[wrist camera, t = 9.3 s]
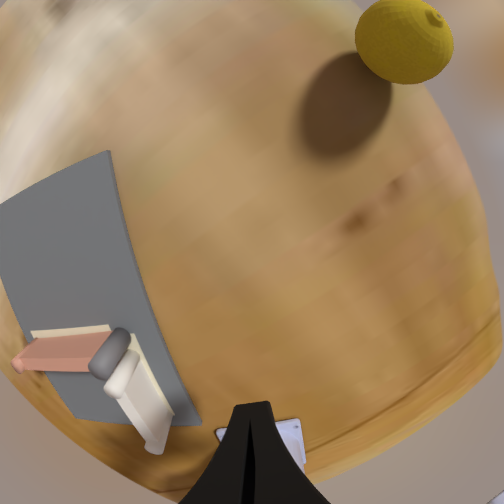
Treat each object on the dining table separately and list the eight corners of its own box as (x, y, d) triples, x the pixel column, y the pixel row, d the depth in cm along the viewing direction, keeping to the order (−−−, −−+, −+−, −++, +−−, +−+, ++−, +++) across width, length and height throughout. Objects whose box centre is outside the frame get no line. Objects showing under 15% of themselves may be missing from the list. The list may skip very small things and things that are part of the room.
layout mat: (202, 421, 22) (195, 462, 17) (77, 415, 22) (61, 443, 18) (110, 150, 16) (67, 145, 11) (-13, 213, 16) (-48, 224, 11)
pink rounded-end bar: (126, 326, 18) (101, 360, 14) (134, 344, 18) (113, 380, 14) (31, 336, 19) (6, 360, 14) (39, 350, 19) (15, 375, 15)
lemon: (372, 108, 15) (445, 76, 7) (323, 44, 14) (366, -21, 6) (420, 81, 14) (490, 52, 7) (376, 23, 13) (428, -28, 5)
